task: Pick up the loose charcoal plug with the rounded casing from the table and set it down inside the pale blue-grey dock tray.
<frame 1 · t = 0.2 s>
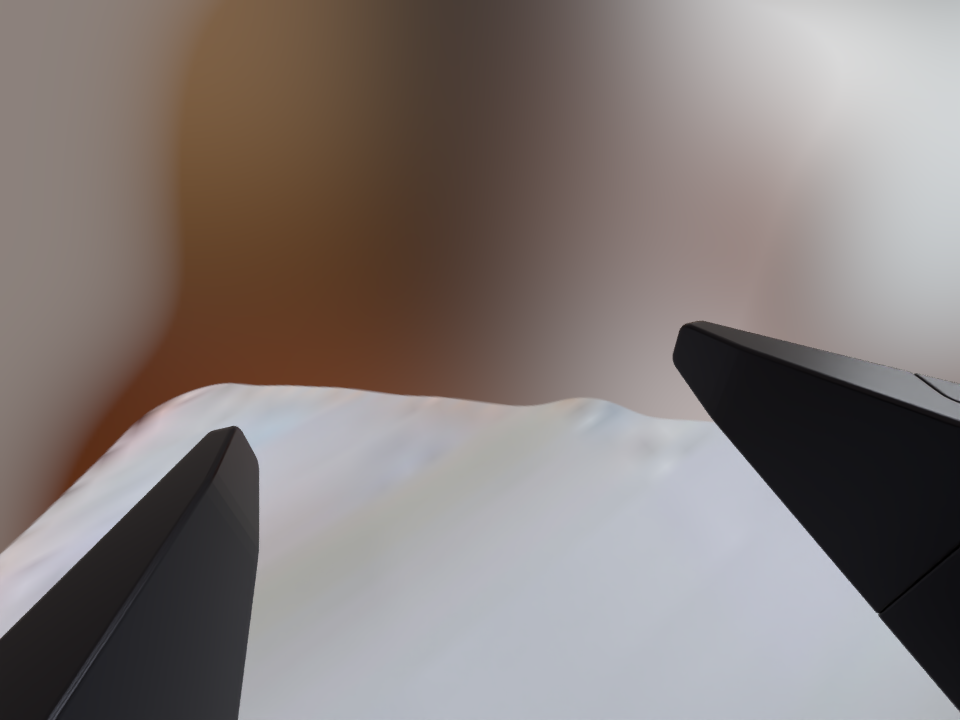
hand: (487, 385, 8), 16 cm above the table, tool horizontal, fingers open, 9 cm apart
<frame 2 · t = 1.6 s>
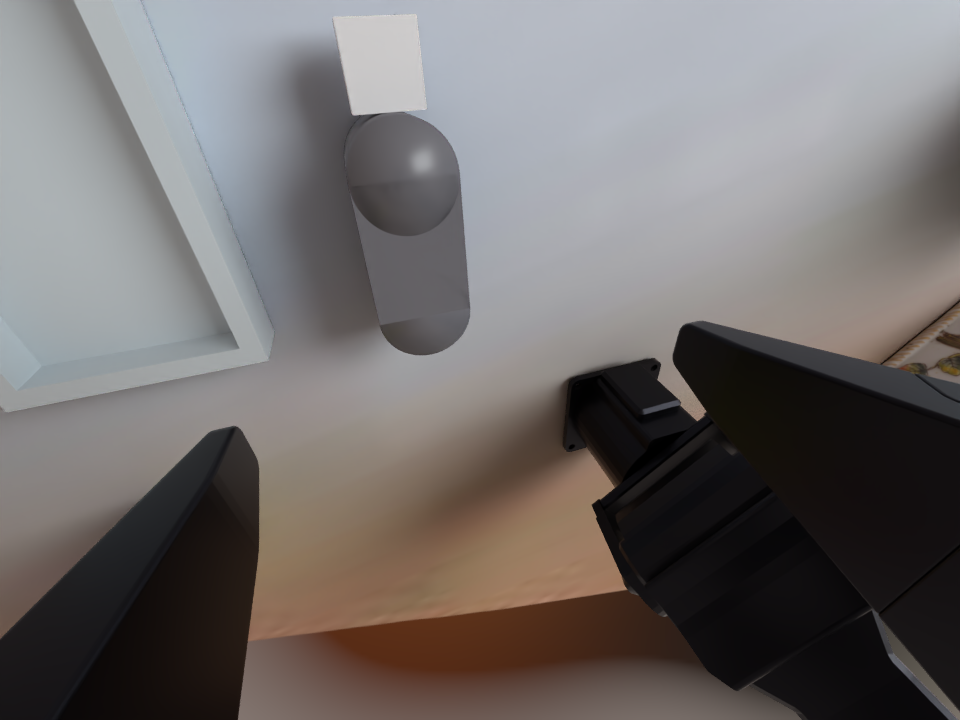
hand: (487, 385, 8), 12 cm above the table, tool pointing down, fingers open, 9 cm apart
plug: (401, 224, 18), on the table
dock tray: (50, 164, 13), on the table
decorative jar: (926, 355, 39), on the table
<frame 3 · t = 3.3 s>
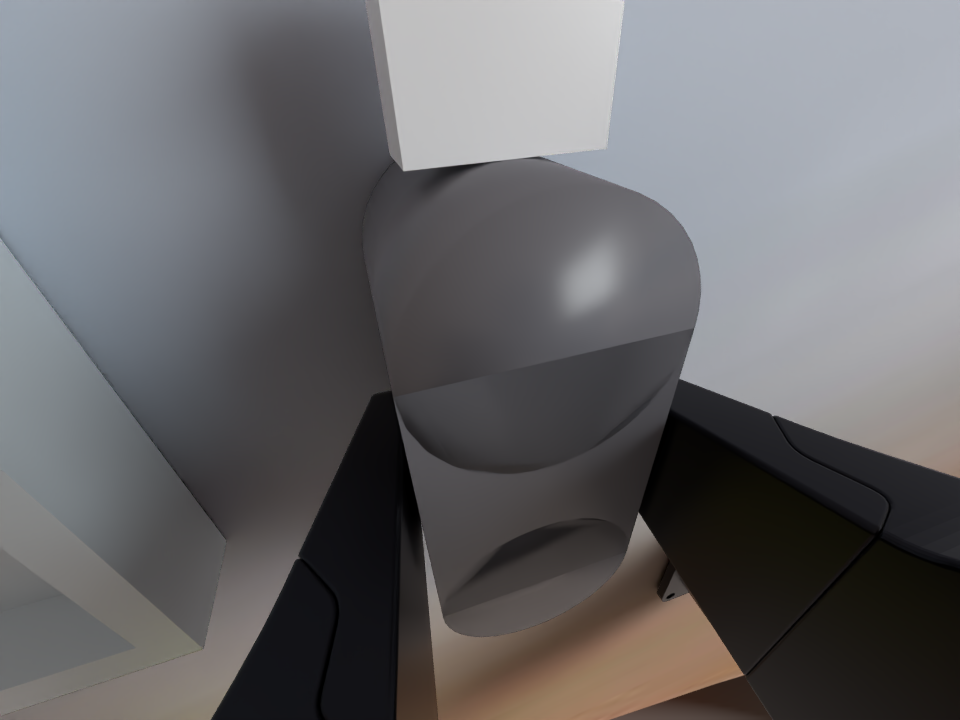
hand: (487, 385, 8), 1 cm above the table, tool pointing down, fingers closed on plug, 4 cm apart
plug: (470, 352, 9), on the table, touching gripper
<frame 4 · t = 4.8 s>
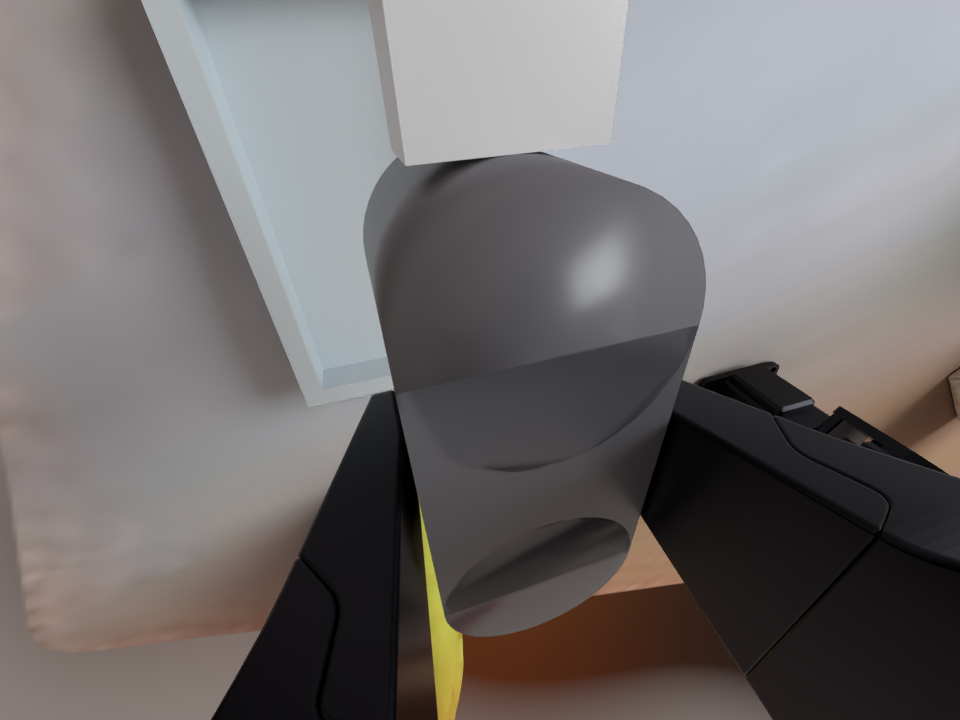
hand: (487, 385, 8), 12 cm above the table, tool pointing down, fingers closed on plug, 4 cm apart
plug: (471, 351, 9), point 10 cm above the table, touching gripper
bottle: (376, 524, 28), on the table
dock tray: (370, 207, 17), on the table
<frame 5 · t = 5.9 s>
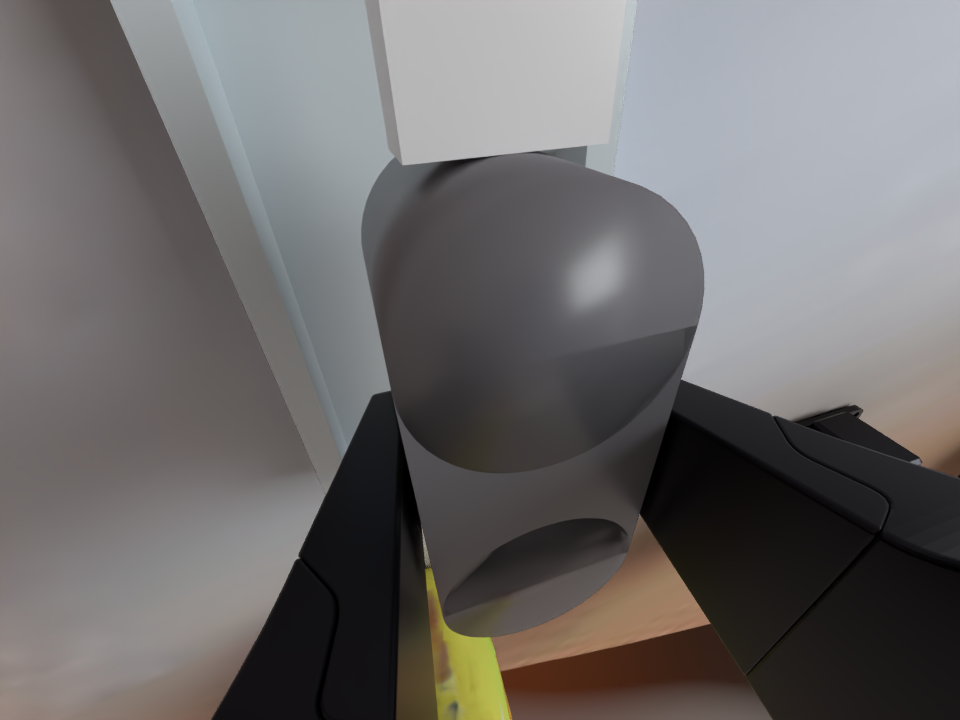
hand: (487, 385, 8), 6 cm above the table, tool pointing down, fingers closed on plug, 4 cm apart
plug: (470, 351, 9), point 4 cm above the table, touching gripper
bottle: (399, 604, 23), on the table
dock tray: (423, 244, 12), on the table
when the fingers open (3 cm above the table, at t = 6.6 s): plug drops 1 cm, resting on dock tray.
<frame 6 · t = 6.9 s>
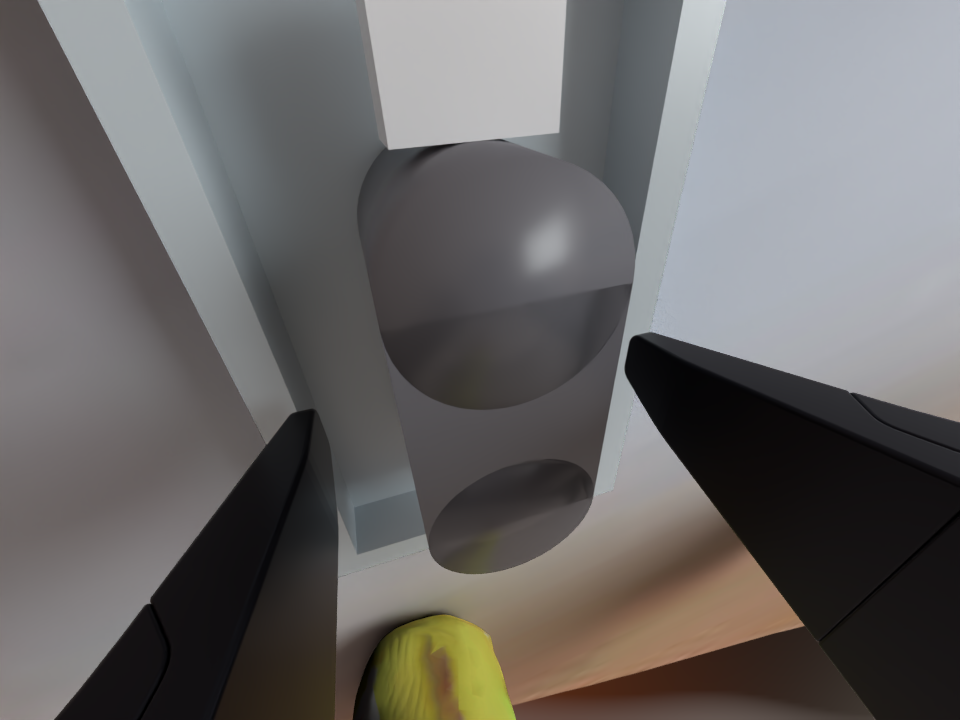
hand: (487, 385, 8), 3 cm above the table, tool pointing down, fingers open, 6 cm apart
plug: (455, 324, 10), point 1 cm above the table, touching dock tray
bottle: (406, 649, 21), on the table
dock tray: (442, 275, 10), on the table
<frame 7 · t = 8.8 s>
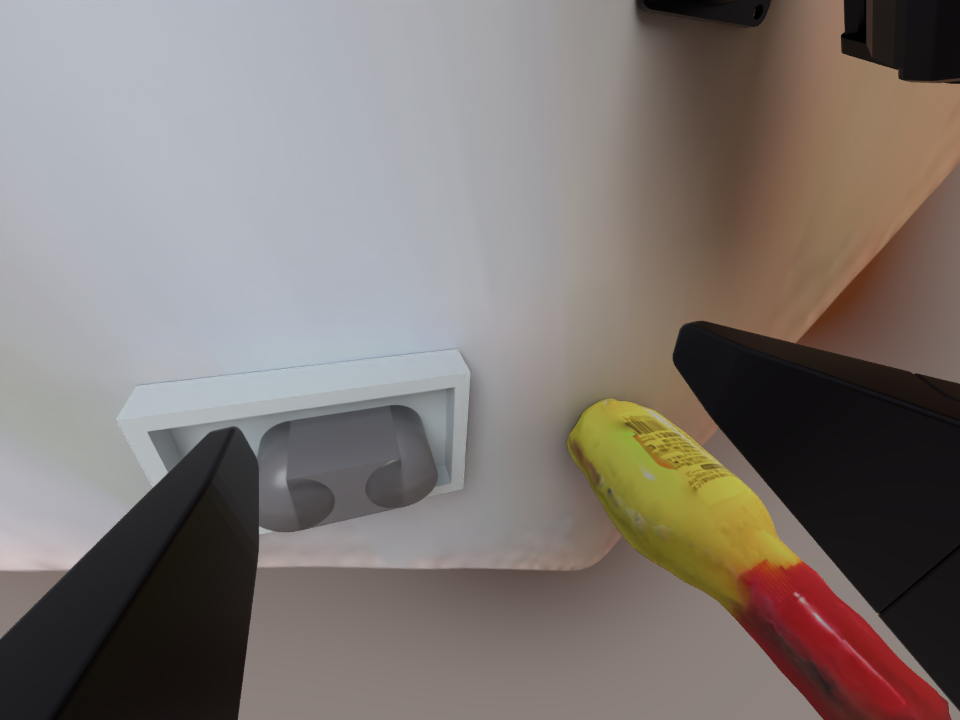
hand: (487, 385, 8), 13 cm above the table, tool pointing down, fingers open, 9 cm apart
plug: (345, 437, 23), point 1 cm above the table, touching dock tray
bottle: (614, 422, 31), on the table
dock tray: (327, 431, 23), on the table
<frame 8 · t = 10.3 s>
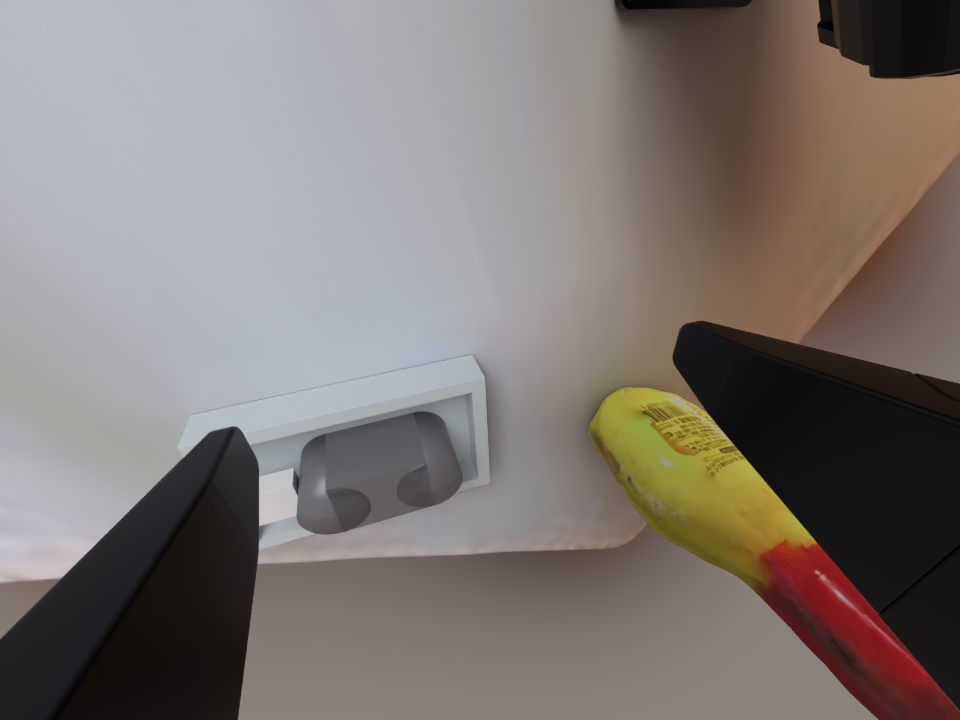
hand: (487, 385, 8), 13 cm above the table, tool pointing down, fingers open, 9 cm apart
plug: (376, 444, 24), point 1 cm above the table, touching dock tray
bottle: (636, 407, 32), on the table
dock tray: (359, 439, 25), on the table
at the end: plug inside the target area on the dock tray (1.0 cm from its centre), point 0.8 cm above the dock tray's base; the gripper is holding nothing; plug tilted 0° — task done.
